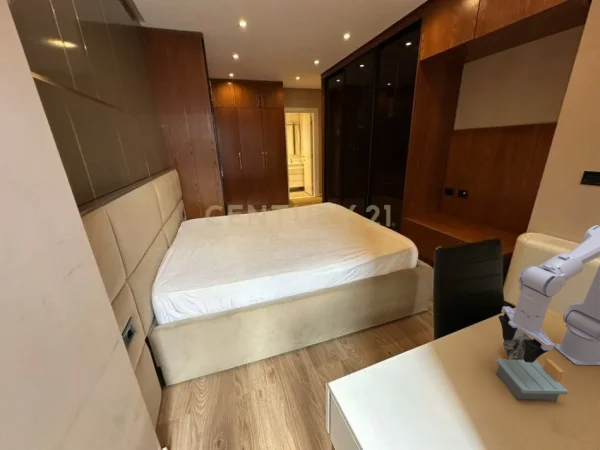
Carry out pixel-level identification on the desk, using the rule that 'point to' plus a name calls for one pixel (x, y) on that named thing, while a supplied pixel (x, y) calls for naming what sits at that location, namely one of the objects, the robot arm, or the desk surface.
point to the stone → (516, 346)
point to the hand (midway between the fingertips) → (517, 349)
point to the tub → (517, 391)
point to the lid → (534, 376)
